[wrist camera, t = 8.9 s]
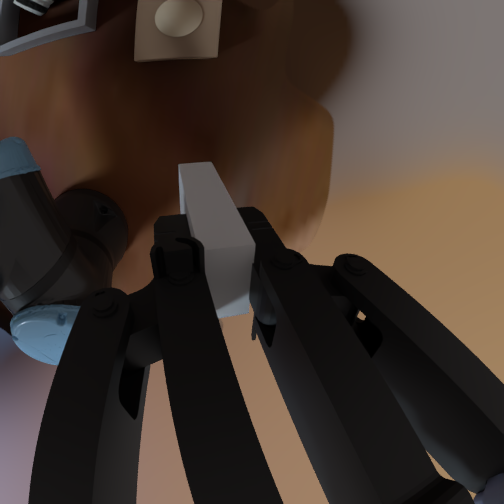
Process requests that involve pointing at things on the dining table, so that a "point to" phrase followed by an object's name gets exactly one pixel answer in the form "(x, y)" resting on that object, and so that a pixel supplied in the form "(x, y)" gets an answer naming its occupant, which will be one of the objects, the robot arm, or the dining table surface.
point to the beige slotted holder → (177, 29)
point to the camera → (34, 5)
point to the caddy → (6, 29)
